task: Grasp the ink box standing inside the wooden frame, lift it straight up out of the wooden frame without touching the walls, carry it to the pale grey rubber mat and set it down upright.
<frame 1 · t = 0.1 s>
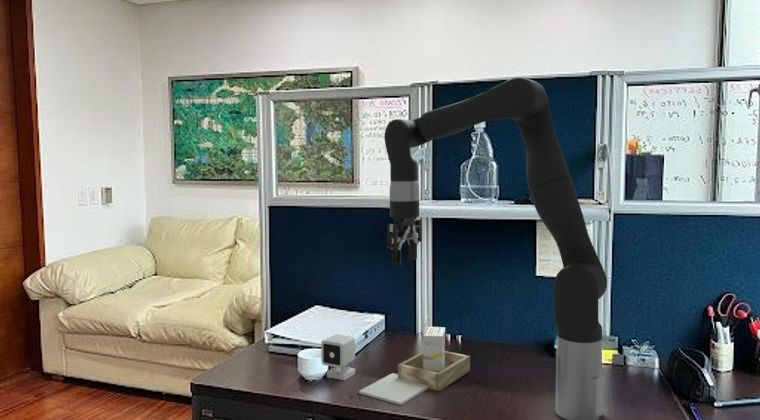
hand: (404, 261, 150), 29 cm above the table, fingers open, 8 cm apart
wooden frame: (434, 375, 151), on the table
mat: (396, 389, 142), on the table
security camera: (339, 376, 151), on the table
ink box: (434, 376, 151), resting in wooden frame
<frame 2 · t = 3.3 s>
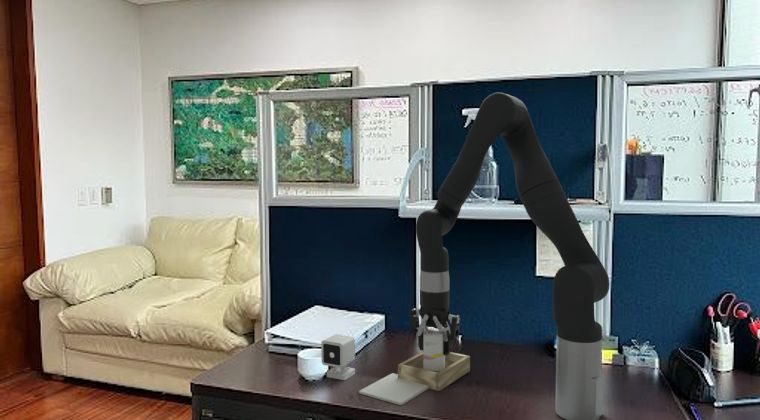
hand: (434, 351, 150), 6 cm above the table, fingers closed on ink box, 6 cm apart
ink box: (434, 376, 151), resting in wooden frame, touching gripper
everything else where it was.
when the fingers open (8 cm above the table, at t = 11.0 s): ink box drops 1 cm, resting on mat.
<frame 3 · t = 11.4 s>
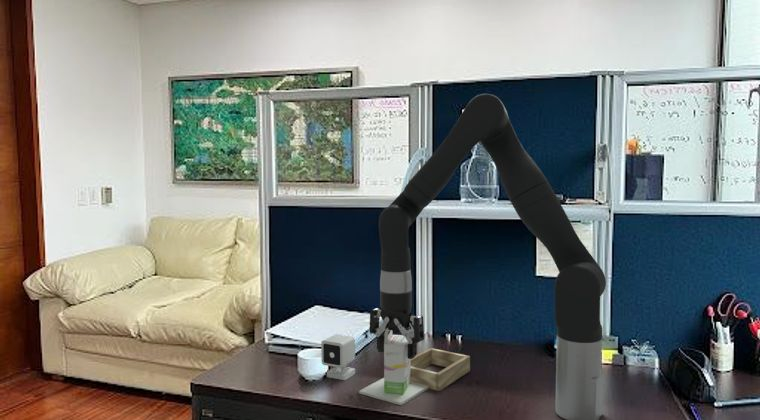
hand: (396, 354, 141), 9 cm above the table, fingers open, 8 cm apart
ink box: (397, 387, 142), resting on mat
everything else where it was.
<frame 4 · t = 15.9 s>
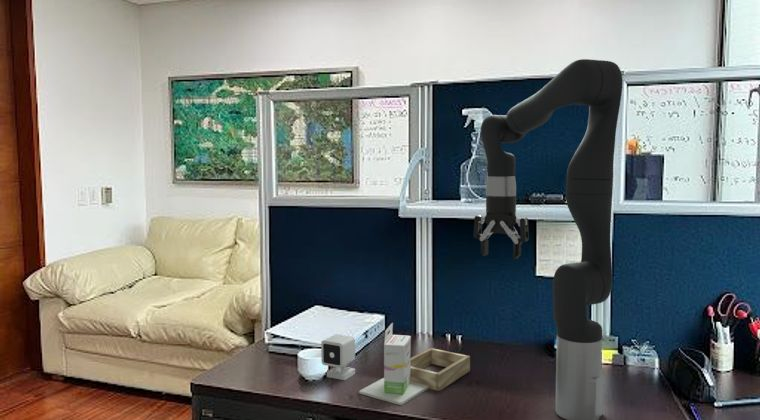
hand: (500, 256, 151), 30 cm above the table, fingers open, 8 cm apart
nothing on the table moved.
at the end: ink box inside the target area on the mat (0.3 cm from its centre), point 0.4 cm above the mat's base; ink box tilted 0°; the gripper is holding nothing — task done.
